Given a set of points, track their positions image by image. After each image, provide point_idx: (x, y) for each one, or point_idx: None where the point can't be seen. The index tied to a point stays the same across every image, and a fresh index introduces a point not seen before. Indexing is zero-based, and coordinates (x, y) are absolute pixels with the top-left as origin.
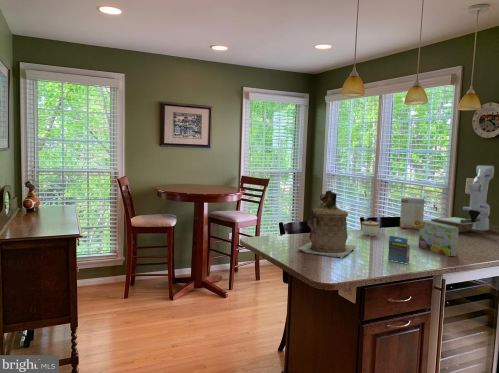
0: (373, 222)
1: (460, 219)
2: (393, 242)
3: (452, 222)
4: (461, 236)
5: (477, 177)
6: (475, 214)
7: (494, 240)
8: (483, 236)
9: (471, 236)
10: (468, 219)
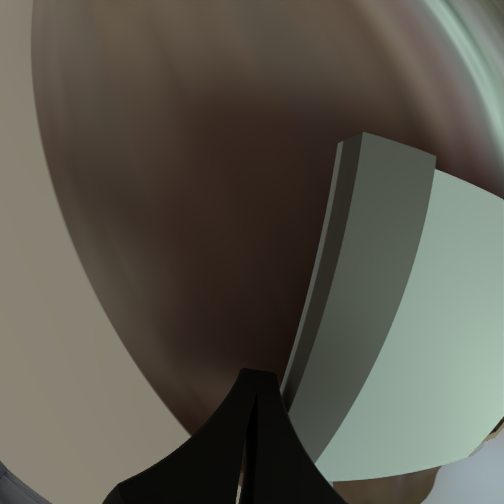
0: None
1: (435, 432)
2: None
3: (499, 199)
4: (264, 36)
5: None
6: (142, 473)
7: (44, 155)
8: (139, 240)
9: (201, 124)
10: (327, 372)
